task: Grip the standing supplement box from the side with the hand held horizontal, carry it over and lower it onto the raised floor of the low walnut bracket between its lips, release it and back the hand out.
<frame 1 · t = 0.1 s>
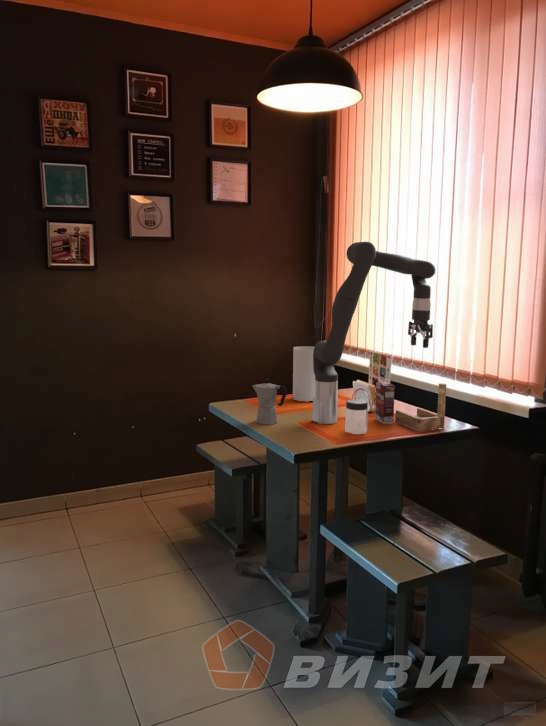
hand: (419, 346, 260), 29 cm above the table, tool pointing down, fingers open, 8 cm apart
bracket: (419, 425, 243), on the table
cylinder vase: (305, 400, 288), on the table
supplement box: (383, 421, 249), on the table
coffeepot: (269, 422, 246), on the table
jar: (356, 432, 233), on the table
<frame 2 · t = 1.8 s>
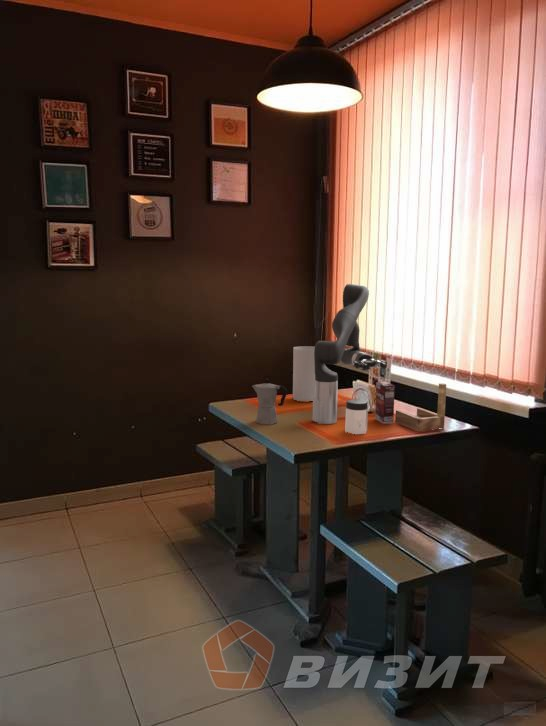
hand: (375, 366, 257), 21 cm above the table, tool horizontal, fingers open, 8 cm apart
nothing on the table moved.
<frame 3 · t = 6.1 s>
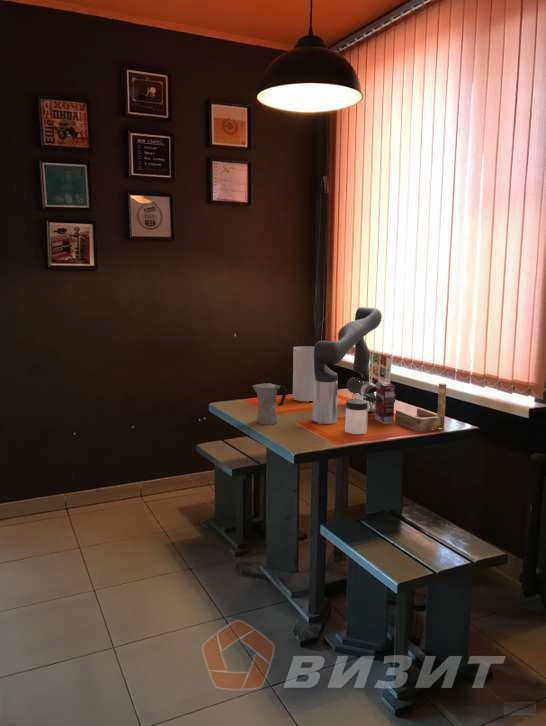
hand: (387, 401, 245), 9 cm above the table, tool horizontal, fingers closed on supplement box, 5 cm apart
supplement box: (384, 421, 249), on the table, touching gripper
everything else where it was.
when the fingers open (12 cm above the table, at t = 10.3 s): supplement box drops 1 cm, resting on bracket.
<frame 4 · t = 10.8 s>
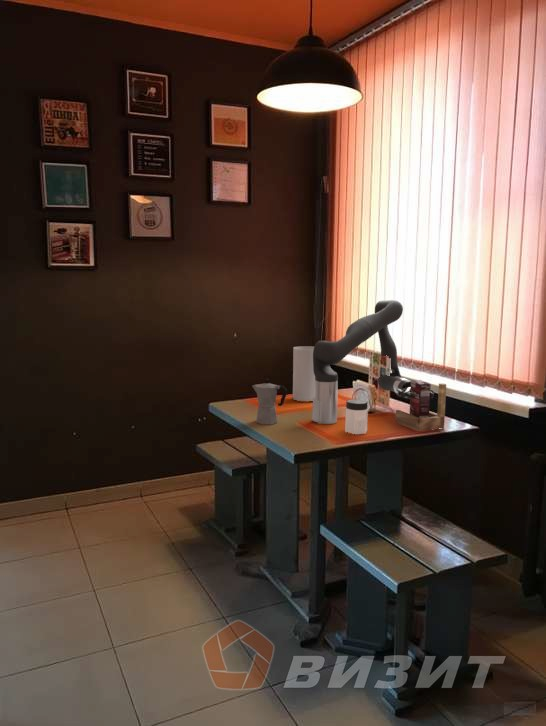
hand: (422, 396, 239), 13 cm above the table, tool horizontal, fingers open, 8 cm apart
supplement box: (418, 421, 242), point 2 cm above the table, touching bracket
everything else where it was.
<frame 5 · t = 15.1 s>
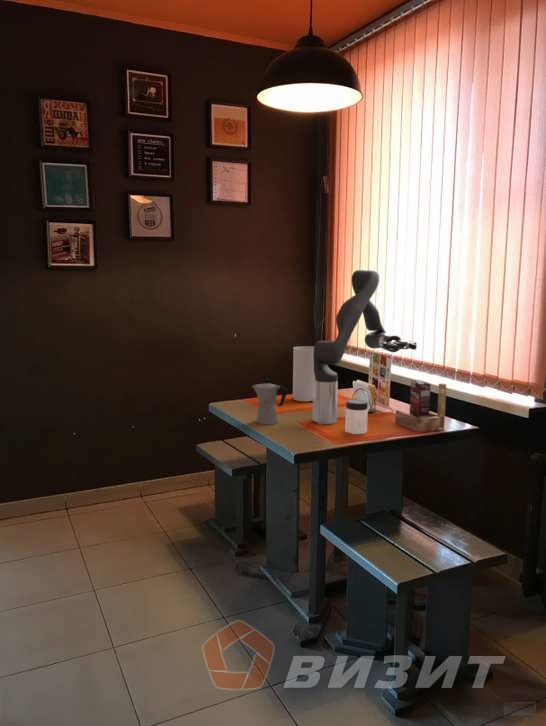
hand: (405, 347, 250), 30 cm above the table, tool horizontal, fingers open, 8 cm apart
nothing on the table moved.
at the end: supplement box inside the target area on the bracket (0.2 cm from its centre), point 1.8 cm above the bracket's base; supplement box tilted 0°; the gripper is holding nothing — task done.
